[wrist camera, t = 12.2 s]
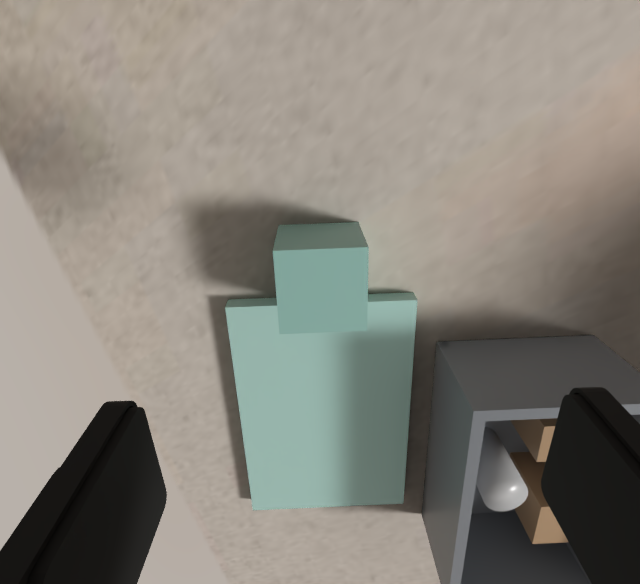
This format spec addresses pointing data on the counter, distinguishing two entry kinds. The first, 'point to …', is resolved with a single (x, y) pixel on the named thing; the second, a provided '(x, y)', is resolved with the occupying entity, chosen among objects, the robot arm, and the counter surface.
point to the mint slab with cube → (323, 375)
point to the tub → (506, 454)
